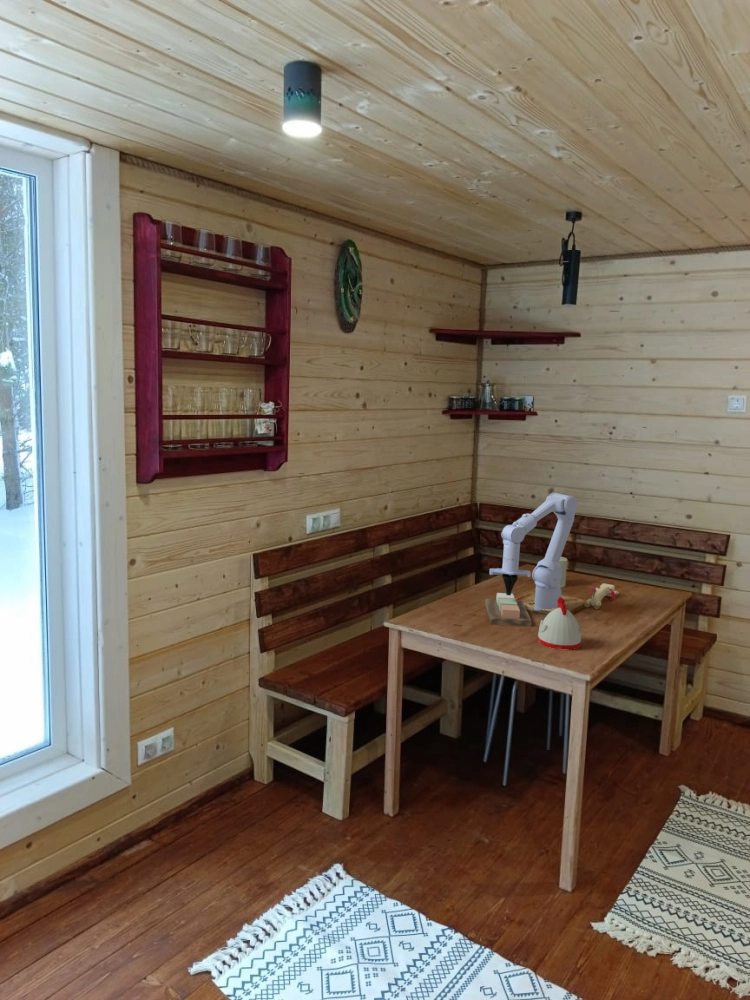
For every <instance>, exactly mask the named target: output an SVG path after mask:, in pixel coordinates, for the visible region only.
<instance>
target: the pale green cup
mask: <svg viewBox="0 0 750 1000" xmlns="http://www.w3.org/2000/svg"><path fill="white" fill-rule="evenodd" d="M567 564H568V558H567V557H564V556H561V558H560V560H559V566H560V567H561V569H562V572H561V580H560V583H559V585H558V586H559V587H561V589H562V588H565V587H566V580H567V579H566V578H567ZM547 569H550V570H551V568H547Z"/></svg>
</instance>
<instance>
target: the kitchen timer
mask: <svg viewBox="0 0 750 1000" xmlns="http://www.w3.org/2000/svg"><path fill="white" fill-rule="evenodd" d="M565 600H566V599H564V598H563V597H562V596H561V597H559V599H557V606H558V608H556V609H554V610H552V611H549V613H547V614H546V616H545V617H544V619H543V620H542V619H541V620H540V623H539V628H538V633H537V642H538V643H539V644H540V643H541V644H543V645H544V647H546V646H547V648H549V647H551V648H550V649H552V648H556V649H555V650H558V649H574V648H577V649H579V648H580V647H581V646H582V633H581V632H582V630H581V625H579V622H578V620H577V619H576V618H575V616H574V614H573V613H572V612H571V611H570V610H568V609H567V608H566V606H567V604H566V602H565ZM541 644H540V645H541ZM543 645H542V646H543ZM580 645H581V646H580ZM578 647H579V648H578ZM574 650H575V649H574Z"/></svg>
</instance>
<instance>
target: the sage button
mask: <svg viewBox="0 0 750 1000" xmlns="http://www.w3.org/2000/svg"><path fill="white" fill-rule="evenodd" d="M501 605H517V602H516V599H499V604H498V608H499V612H501Z"/></svg>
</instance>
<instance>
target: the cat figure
mask: <svg viewBox="0 0 750 1000" xmlns="http://www.w3.org/2000/svg"><path fill="white" fill-rule="evenodd" d="M615 587H616V586H615V585H614V584H609V583H605V582H604V583H602V584H601V585H600V586H599V587H598V585H595V586H593V587H592V588H591V590H590V591H589V594H590V595H591V598H588V599H587V600H585V601H586V602H585V603H584V607H585V608H590V607H593V609H594V610H600V608H601V606H602V599H604V597H610V599H609V601H610V602H612V601H614V600H615V599H616V597H617V595H619V591H617V590H615Z"/></svg>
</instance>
